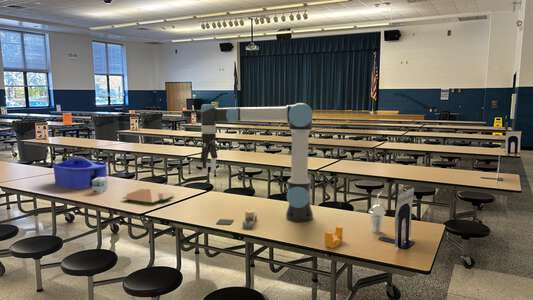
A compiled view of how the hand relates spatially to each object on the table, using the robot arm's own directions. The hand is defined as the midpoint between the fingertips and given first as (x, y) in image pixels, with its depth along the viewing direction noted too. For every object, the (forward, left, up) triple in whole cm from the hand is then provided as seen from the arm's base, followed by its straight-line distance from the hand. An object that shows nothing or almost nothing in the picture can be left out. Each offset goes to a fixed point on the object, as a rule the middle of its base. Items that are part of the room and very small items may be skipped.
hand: (209, 172), depth 203 cm
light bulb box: (+98, -52, -28) cm, 114 cm away
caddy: (+127, -73, -28) cm, 149 cm away
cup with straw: (-89, +4, -28) cm, 93 cm away
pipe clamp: (-67, +23, -28) cm, 76 cm away
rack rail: (-22, +1, -28) cm, 36 cm away
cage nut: (-22, +1, -28) cm, 36 cm away
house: (+54, -38, -28) cm, 72 cm away
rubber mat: (-8, +1, -28) cm, 29 cm away
